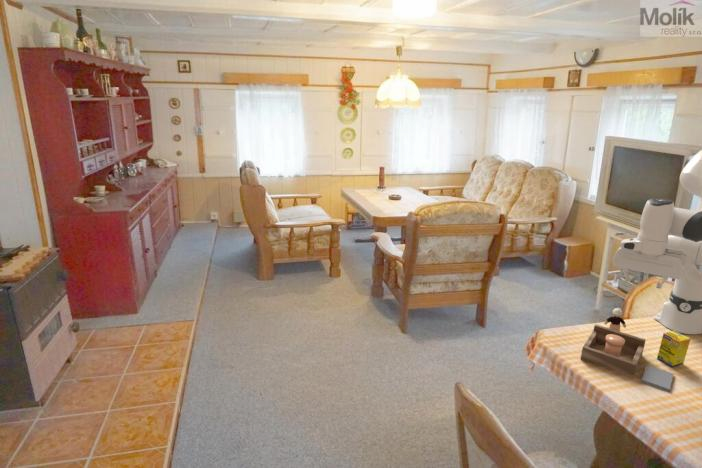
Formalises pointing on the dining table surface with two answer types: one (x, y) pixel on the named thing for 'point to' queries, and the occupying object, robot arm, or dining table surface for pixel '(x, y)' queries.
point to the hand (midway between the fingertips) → (642, 284)
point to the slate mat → (657, 378)
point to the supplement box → (673, 348)
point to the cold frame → (610, 361)
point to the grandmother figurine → (616, 320)
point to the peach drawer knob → (614, 344)
